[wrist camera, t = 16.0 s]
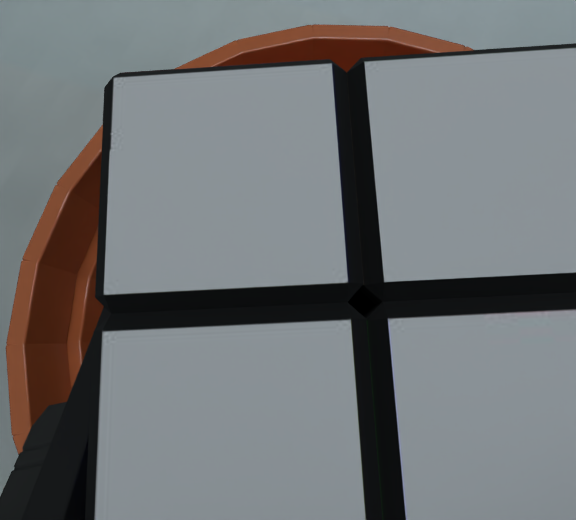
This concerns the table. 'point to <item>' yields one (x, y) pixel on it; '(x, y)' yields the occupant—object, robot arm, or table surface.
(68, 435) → the robot arm
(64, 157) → the table surface
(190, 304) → the puzzle cube
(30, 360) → the bowl
